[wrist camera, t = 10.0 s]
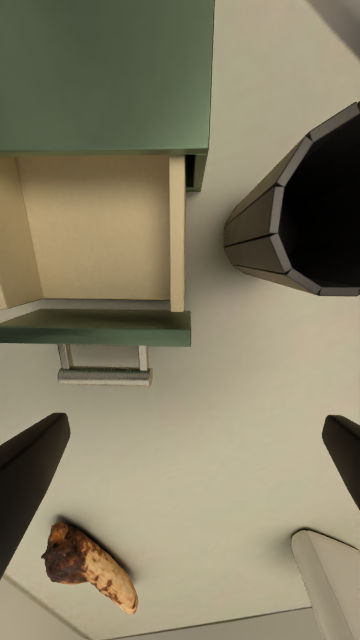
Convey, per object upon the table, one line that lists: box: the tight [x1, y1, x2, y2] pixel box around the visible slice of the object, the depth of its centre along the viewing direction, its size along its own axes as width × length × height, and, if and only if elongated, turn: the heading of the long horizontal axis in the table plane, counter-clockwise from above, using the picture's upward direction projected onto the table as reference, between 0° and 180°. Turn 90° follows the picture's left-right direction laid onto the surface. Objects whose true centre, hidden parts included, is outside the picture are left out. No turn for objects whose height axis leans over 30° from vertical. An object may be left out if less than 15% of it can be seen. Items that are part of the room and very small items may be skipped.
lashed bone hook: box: [41, 522, 138, 614], centre depth 27 cm, size 9×5×18 cm
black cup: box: [223, 101, 360, 296], centre depth 11 cm, size 6×6×10 cm
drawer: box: [0, 154, 191, 386], centre depth 14 cm, size 17×13×5 cm
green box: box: [0, 0, 215, 191], centre depth 10 cm, size 14×14×6 cm
